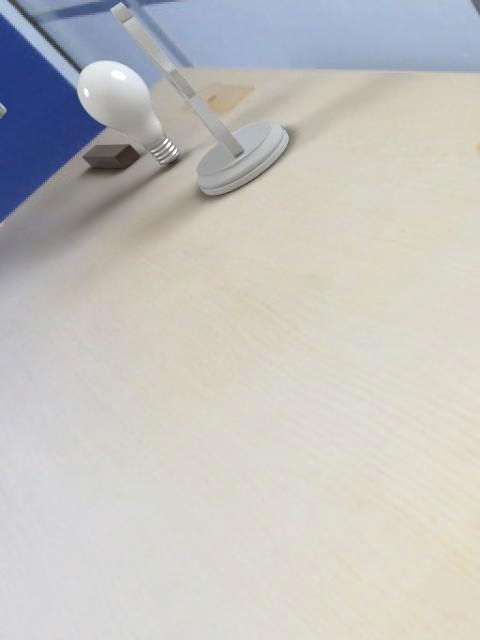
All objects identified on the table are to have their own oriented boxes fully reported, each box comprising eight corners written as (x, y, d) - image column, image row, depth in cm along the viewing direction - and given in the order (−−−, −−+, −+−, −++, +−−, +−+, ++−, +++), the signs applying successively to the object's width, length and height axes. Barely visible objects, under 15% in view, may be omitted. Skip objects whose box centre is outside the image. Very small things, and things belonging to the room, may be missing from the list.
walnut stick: (141, 155, 88) (129, 143, 87) (125, 168, 87) (114, 156, 86) (106, 155, 94) (96, 144, 93) (92, 167, 93) (81, 156, 92)
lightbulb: (152, 165, 84) (66, 72, 76) (200, 137, 83) (118, 40, 76) (147, 188, 79) (55, 91, 71) (198, 158, 79) (111, 58, 71)
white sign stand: (215, 206, 68) (72, 47, 58) (194, 181, 75) (63, 33, 64) (301, 144, 70) (178, -23, 59) (274, 124, 76) (158, -30, 66)
